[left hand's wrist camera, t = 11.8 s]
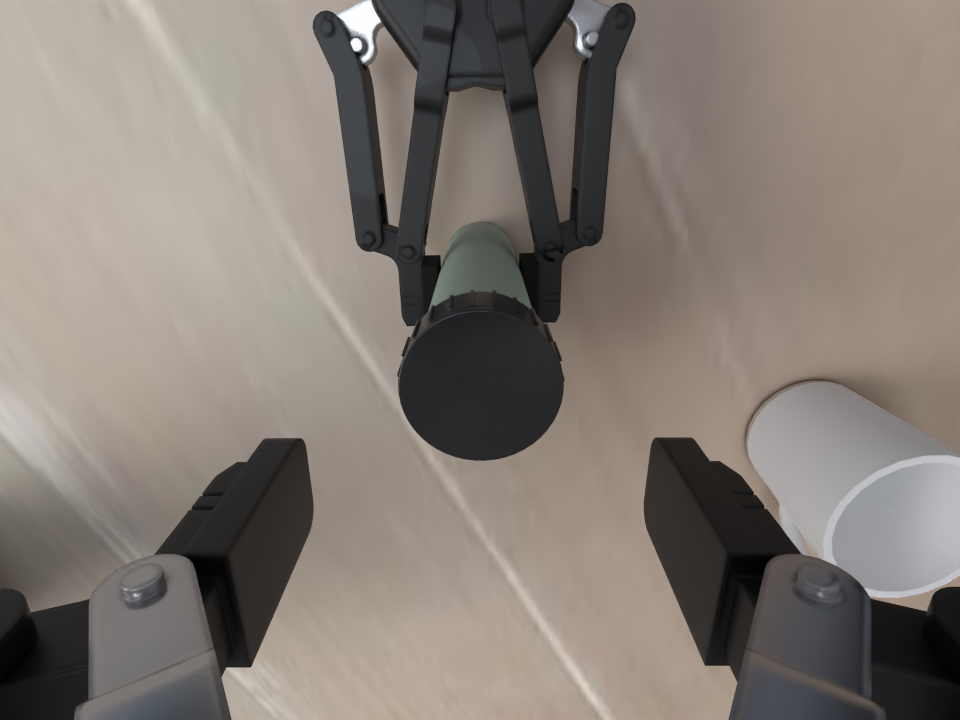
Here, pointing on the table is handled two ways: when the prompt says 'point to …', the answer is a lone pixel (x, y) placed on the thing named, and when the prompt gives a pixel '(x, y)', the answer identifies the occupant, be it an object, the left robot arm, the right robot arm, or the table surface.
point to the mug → (860, 487)
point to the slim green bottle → (480, 265)
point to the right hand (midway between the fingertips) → (482, 379)
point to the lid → (480, 376)
